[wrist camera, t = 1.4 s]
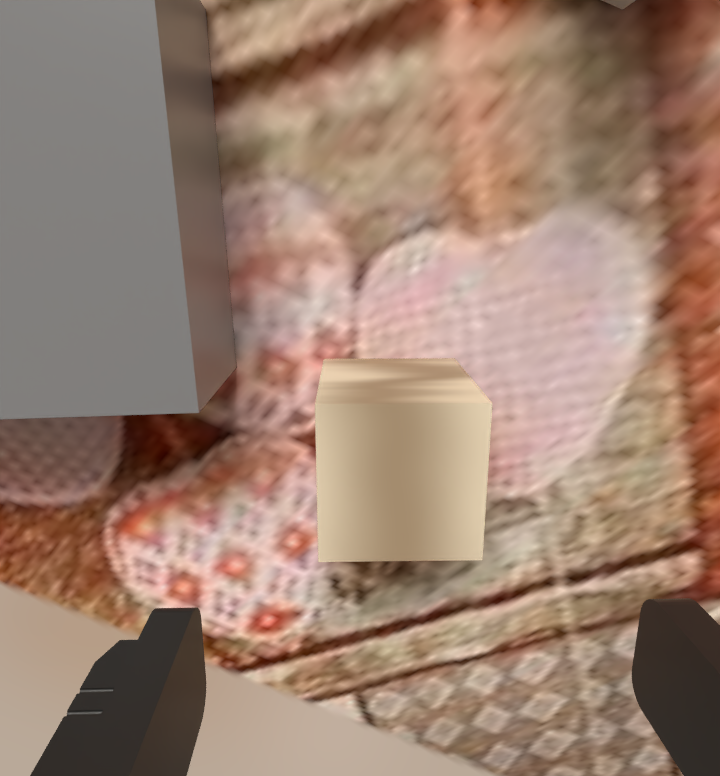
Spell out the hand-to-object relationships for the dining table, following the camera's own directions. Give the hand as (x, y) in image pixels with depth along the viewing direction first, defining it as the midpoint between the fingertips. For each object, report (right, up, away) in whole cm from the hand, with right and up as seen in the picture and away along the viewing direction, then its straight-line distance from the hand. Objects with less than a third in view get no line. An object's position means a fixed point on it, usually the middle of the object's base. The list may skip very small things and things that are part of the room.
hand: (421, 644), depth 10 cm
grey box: (-12, +11, +10) cm, 19 cm away
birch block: (0, +3, +12) cm, 13 cm away
